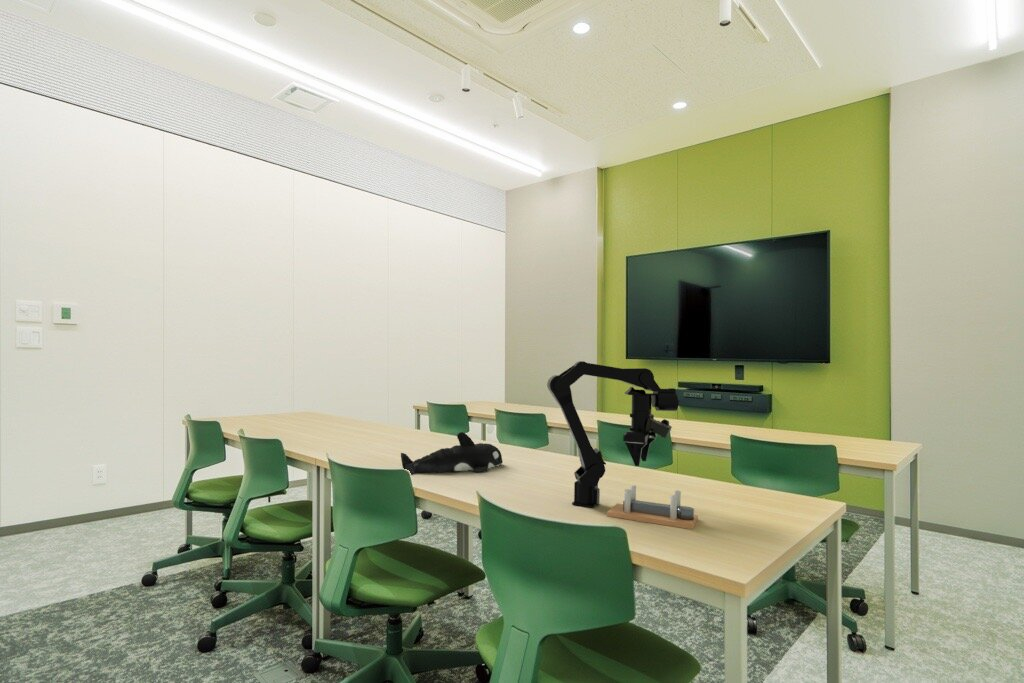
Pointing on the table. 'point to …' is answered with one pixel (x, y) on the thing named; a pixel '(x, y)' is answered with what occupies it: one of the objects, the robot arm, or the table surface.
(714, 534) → the table surface
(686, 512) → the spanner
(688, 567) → the table surface
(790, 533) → the table surface
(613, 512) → the peg rack
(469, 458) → the orca plush
